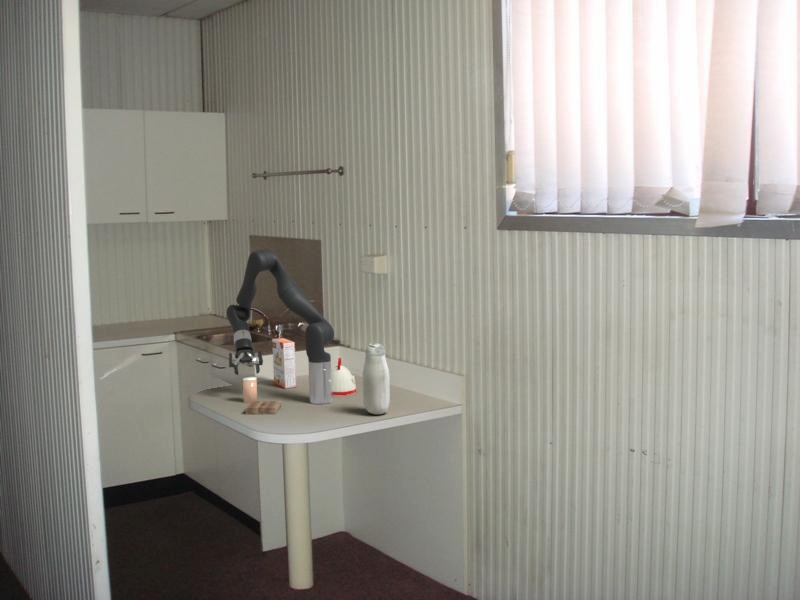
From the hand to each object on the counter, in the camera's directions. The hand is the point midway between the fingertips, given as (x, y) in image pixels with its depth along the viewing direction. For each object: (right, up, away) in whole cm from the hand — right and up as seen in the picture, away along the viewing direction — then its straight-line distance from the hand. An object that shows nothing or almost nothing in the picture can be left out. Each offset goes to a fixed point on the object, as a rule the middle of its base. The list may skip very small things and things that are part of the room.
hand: (247, 373), depth 392 cm
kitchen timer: (+39, -9, +11) cm, 41 cm away
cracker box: (+12, -8, +27) cm, 31 cm away
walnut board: (+10, -13, -22) cm, 27 cm away
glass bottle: (+56, -14, -31) cm, 65 cm away
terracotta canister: (+2, -11, -4) cm, 12 cm away
